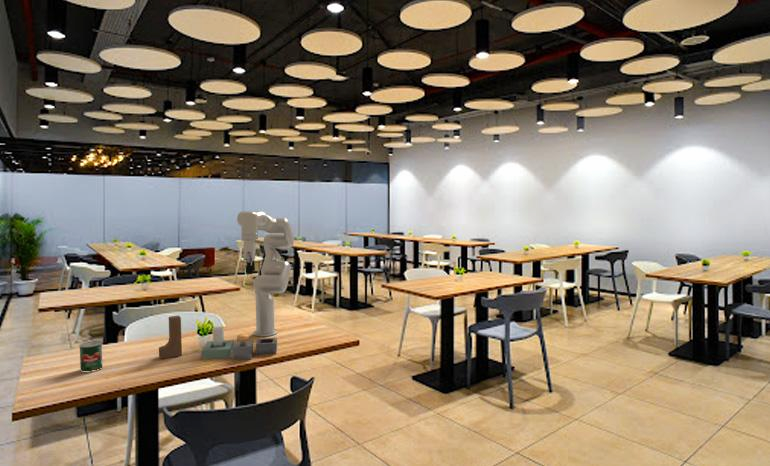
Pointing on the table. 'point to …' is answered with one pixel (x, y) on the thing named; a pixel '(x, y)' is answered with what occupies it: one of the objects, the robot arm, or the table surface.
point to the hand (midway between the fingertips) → (250, 272)
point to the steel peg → (218, 337)
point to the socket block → (266, 346)
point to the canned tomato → (91, 356)
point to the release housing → (243, 351)
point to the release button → (243, 338)
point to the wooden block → (172, 339)
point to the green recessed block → (217, 350)
